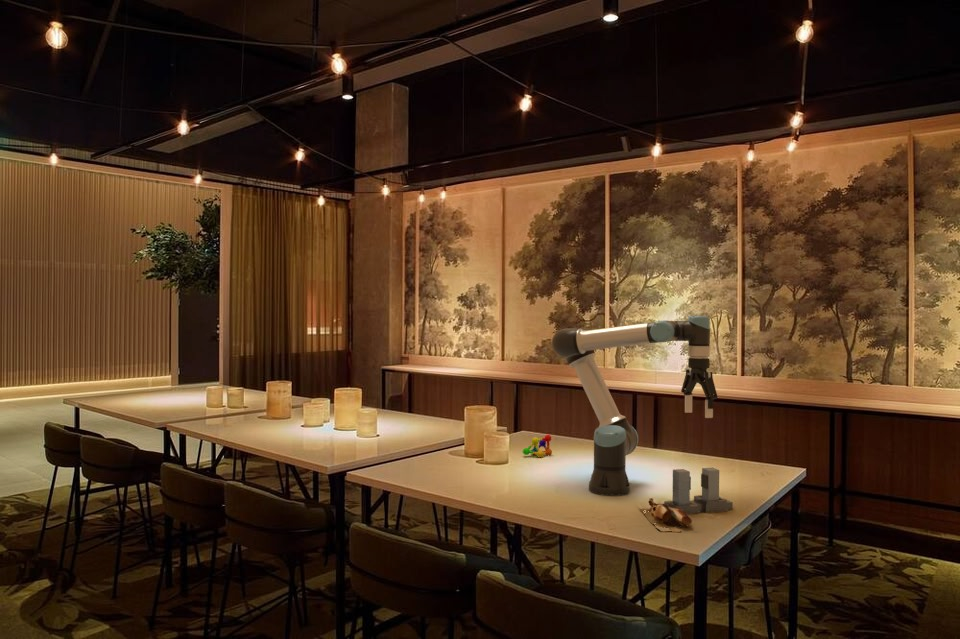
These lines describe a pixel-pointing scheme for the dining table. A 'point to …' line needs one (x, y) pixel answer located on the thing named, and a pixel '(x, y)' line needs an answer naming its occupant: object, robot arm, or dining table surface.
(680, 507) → the grey blocky piece
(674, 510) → the ballet pointe shoes
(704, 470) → the gray rectangular block
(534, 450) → the molecular model
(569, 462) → the dining table surface
